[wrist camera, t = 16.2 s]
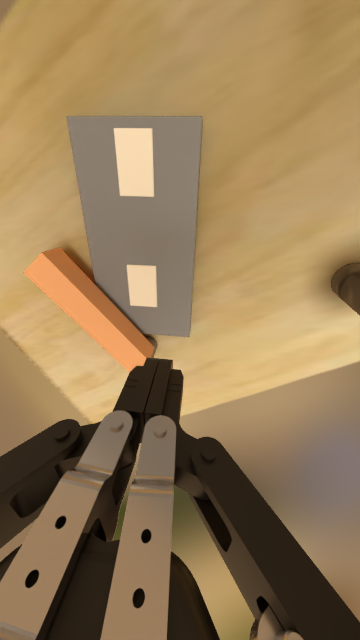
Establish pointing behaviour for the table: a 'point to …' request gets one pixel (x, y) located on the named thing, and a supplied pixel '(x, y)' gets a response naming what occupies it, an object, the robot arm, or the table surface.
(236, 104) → the table surface
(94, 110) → the table surface
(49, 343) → the table surface
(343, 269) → the beverage cup
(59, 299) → the swing bar
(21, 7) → the table surface
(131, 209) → the label board
